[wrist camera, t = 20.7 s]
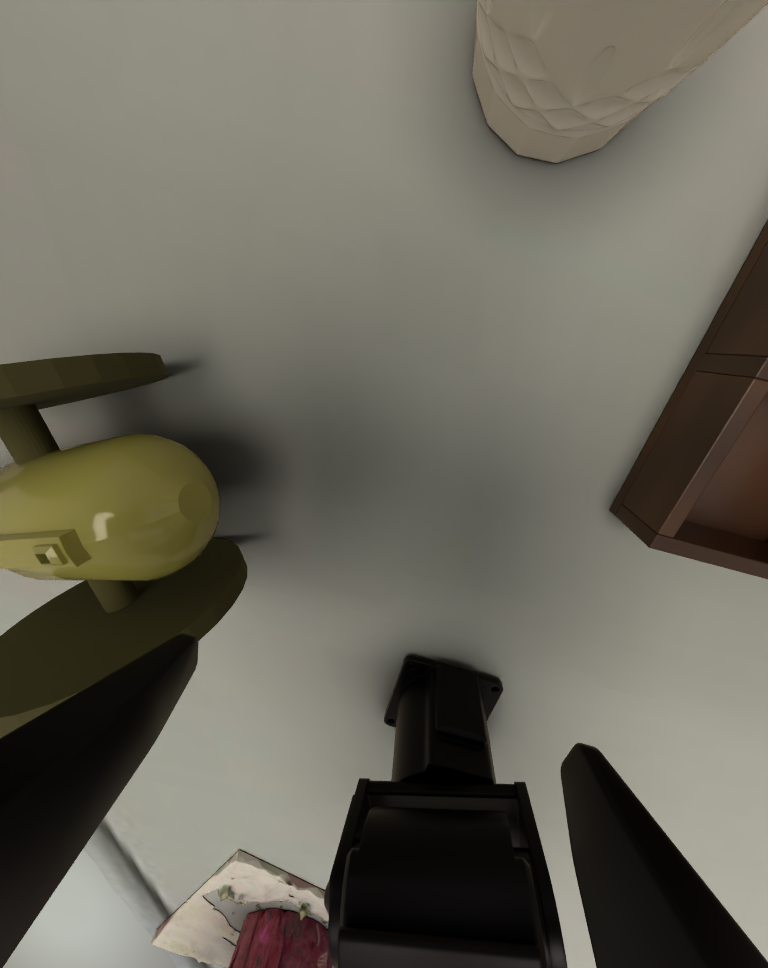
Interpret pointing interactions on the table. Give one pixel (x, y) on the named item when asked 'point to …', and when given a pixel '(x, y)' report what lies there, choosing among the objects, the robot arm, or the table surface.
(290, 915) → the potted flower
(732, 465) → the rack
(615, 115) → the white cup
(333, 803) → the table surface
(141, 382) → the cannon
